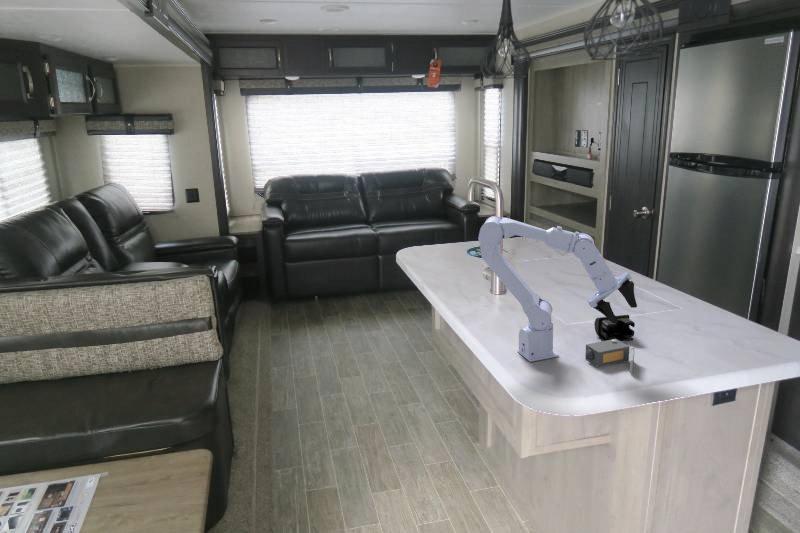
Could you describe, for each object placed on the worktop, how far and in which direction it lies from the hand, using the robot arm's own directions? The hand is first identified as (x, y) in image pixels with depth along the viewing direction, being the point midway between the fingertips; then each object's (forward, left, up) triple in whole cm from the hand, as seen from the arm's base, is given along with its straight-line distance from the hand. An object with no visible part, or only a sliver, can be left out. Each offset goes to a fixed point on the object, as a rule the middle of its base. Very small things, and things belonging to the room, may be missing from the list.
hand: (624, 314), depth 158 cm
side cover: (-1, -5, -13) cm, 14 cm away
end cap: (+8, +14, -14) cm, 21 cm away
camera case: (-4, +1, -14) cm, 14 cm away
